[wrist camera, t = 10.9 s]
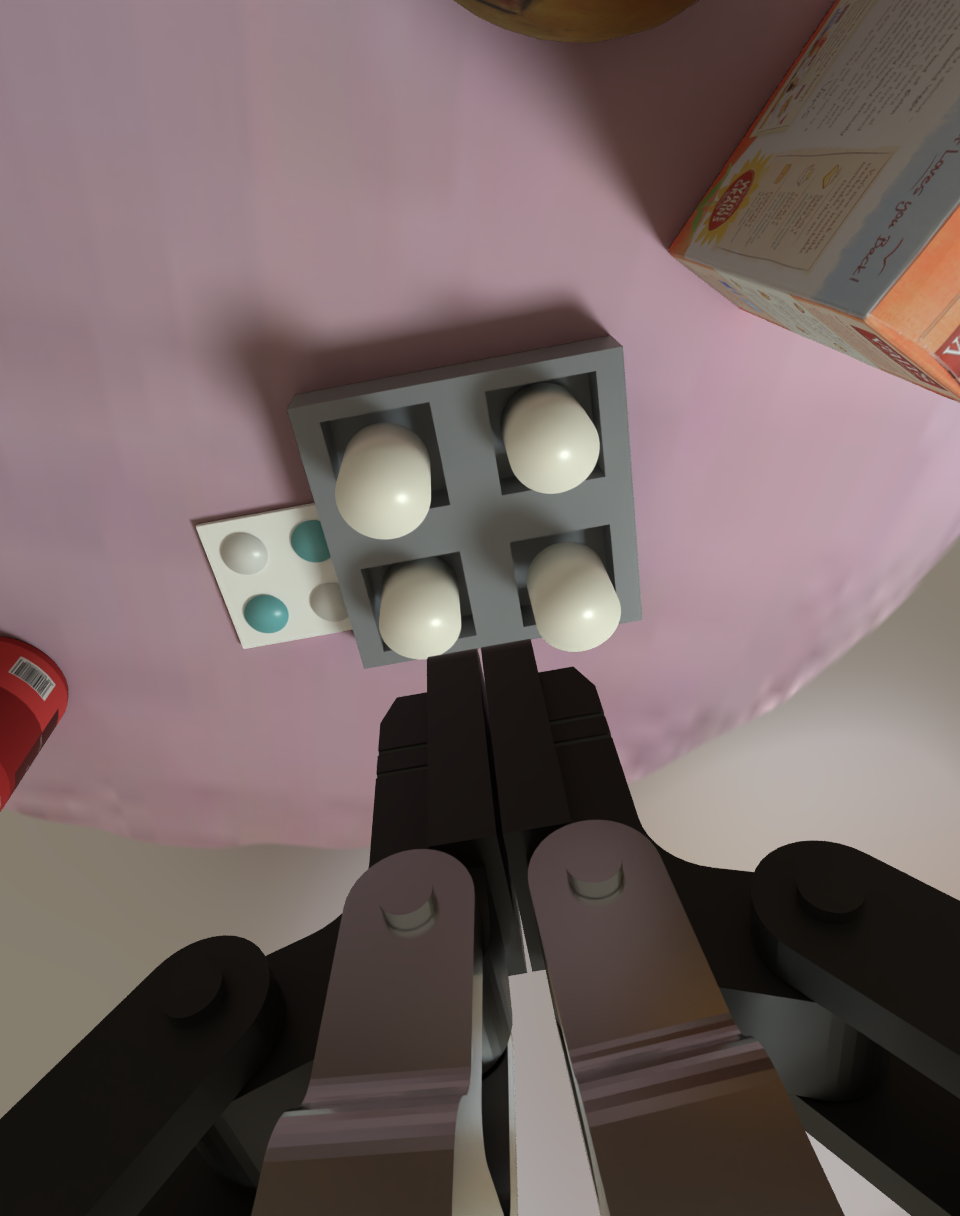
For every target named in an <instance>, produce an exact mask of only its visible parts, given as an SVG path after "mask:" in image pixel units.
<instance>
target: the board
mask: <svg viewBox="0 0 960 1216" xmlns="http://www.w3.org/2000/svg"><path fill="white" fill-rule="evenodd" d="M536 383H554V384H557V385H560V386H562V387H564V388H566V389H567V390H569V391H570V392H571V393H572V394H573V395H574V396H575V397H576V398H577V400H578V401H579V403H580V404H581V406H582V408H583V409H584V411H585V412H586V414H587V415H588V417H589V418H590V420H591V421H592V423H593V424H594V426H595V428H596V430H597V433H598V436H599V442H600V449H599V456H598V460H597V462H596V465H595V467H594V469H593V471H592V472H591V473H590V475H589V476H588V477H587V478H586V479H585V480H584V481H583V482H582V483H581V484H579V485H578V486H576V487H575V488H573V489H571V490H568V491H565V492H562V493H556V494H546V493H540V492H536V491H534V490H532V489H530V488H528V487H526V486H525V485H524V484H522V483H521V482H520V481H519V480H518V478H517V477H516V476H515V474H514V472H513V471H512V468H511V466H510V463H509V459H508V456H507V452H506V449H505V445H504V442H503V438H502V434H501V418H502V414H503V411H504V409H505V407H506V405H507V403H508V402H509V400H510V399H511V398H512V397H513V396H514V395H515V394H516V393H517V392H518V391H520V390H521V389H523V388H525V387H527V386H529V385H532V384H536ZM287 412H288V415H289V419H290V422H291V425H292V429H293V432H294V435H295V439H296V442H297V445H298V449H299V452H300V455H301V459H302V462H303V465H304V469H305V472H306V475H307V479H308V482H309V485H310V489H311V492H312V495H313V499H314V502H315V505H316V509H317V512H318V515H319V519H320V522H321V526H322V529H323V532H324V536H325V539H326V542H327V546H328V549H329V552H330V556H331V559H332V562H333V566H334V569H335V572H336V576H337V579H338V582H339V586H340V589H341V592H342V596H343V599H344V602H345V606H346V609H347V612H348V616H349V619H350V622H351V626H352V629H353V632H354V636H355V639H356V643H357V646H358V649H359V653H360V656H361V659H362V663H363V666H364V669H366V668H372V667H377V666H383V665H389V664H394V663H400V662H406V661H411V660H417V659H412V658H407V657H404V656H402V655H399V654H398V653H396V652H394V651H393V650H392V649H390V648H389V647H388V646H387V644H386V643H385V642H384V640H383V638H382V636H381V634H380V630H379V617H380V607H381V597H382V587H383V580H384V576H385V574H386V572H387V570H388V569H389V568H390V566H391V565H392V564H393V563H398V562H404V561H409V560H415V559H420V558H426V557H431V556H436V557H438V558H440V559H442V560H443V561H445V562H446V563H447V564H448V565H449V566H450V567H451V568H452V569H453V571H454V573H455V575H456V577H457V580H458V589H459V601H460V614H461V631H460V634H459V637H458V639H457V641H456V642H455V643H454V645H453V646H452V647H451V648H450V649H449V650H447V651H446V652H444V653H443V654H447V653H453V652H459V651H464V650H470V649H476V648H477V649H479V648H481V647H486V646H492V645H497V644H503V643H509V642H514V641H520V640H526V639H536V638H542V637H541V635H540V633H539V631H538V629H537V626H536V622H535V617H534V613H533V609H532V605H531V601H530V597H529V593H528V589H527V584H526V575H527V571H528V568H529V565H530V564H531V562H532V560H533V559H534V558H535V556H536V555H537V554H538V553H540V552H541V551H542V550H544V549H545V548H547V547H549V546H551V545H553V544H556V543H560V542H577V543H581V544H583V545H586V546H588V547H590V548H591V549H592V550H594V551H595V552H596V553H597V554H598V556H599V557H600V559H601V561H602V563H603V565H604V567H605V570H606V572H607V574H608V576H609V579H610V581H611V583H612V585H613V588H614V590H615V592H616V594H617V596H618V599H619V602H620V606H621V616H620V621H619V624H621V623H627V622H632V621H638V620H642V609H641V595H640V581H639V567H638V553H637V539H636V525H635V511H634V497H633V483H632V469H631V455H630V441H629V427H628V413H627V398H626V384H625V370H624V356H623V346H622V345H621V344H620V343H618V342H617V341H616V340H615V339H614V338H613V337H612V336H611V335H610V336H605V337H600V338H595V339H589V340H584V341H579V342H573V343H568V344H563V345H557V346H552V347H547V348H541V349H536V350H531V351H525V352H520V353H515V354H509V355H504V356H499V357H493V358H488V359H483V360H477V361H472V362H467V363H461V364H456V365H451V366H445V367H440V368H435V369H429V370H424V371H419V372H413V373H408V374H403V375H397V376H392V377H387V378H381V379H376V380H371V381H365V382H360V383H355V384H349V385H344V386H339V387H333V388H328V389H323V390H318V391H312V392H307V393H302V394H296V395H295V396H294V397H293V399H292V401H291V403H290V404H289V406H288V408H287ZM382 422H387V423H395V424H399V425H402V426H404V427H406V428H408V429H410V430H411V431H413V432H414V433H415V434H416V435H417V436H418V437H419V438H420V439H421V440H422V441H423V443H424V444H425V446H426V448H427V451H428V453H429V457H430V469H431V503H430V507H429V511H428V513H427V515H426V517H425V519H424V520H423V522H422V523H421V524H420V525H419V526H418V527H417V528H416V529H415V530H413V531H412V532H410V533H408V534H407V535H404V536H402V537H399V538H395V539H375V538H371V537H368V536H365V535H363V534H361V533H359V532H357V531H356V530H354V529H353V528H352V527H351V526H349V525H348V524H347V522H346V521H345V520H344V519H343V517H342V516H341V514H340V512H339V510H338V507H337V504H336V500H335V486H336V482H337V478H338V474H339V471H340V467H341V464H342V460H343V456H344V453H345V450H346V447H347V445H348V443H349V441H350V440H351V439H352V437H353V436H354V435H355V434H356V433H357V432H359V431H360V430H361V429H363V428H365V427H367V426H369V425H372V424H376V423H382ZM441 655H442V654H441Z"/></svg>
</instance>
